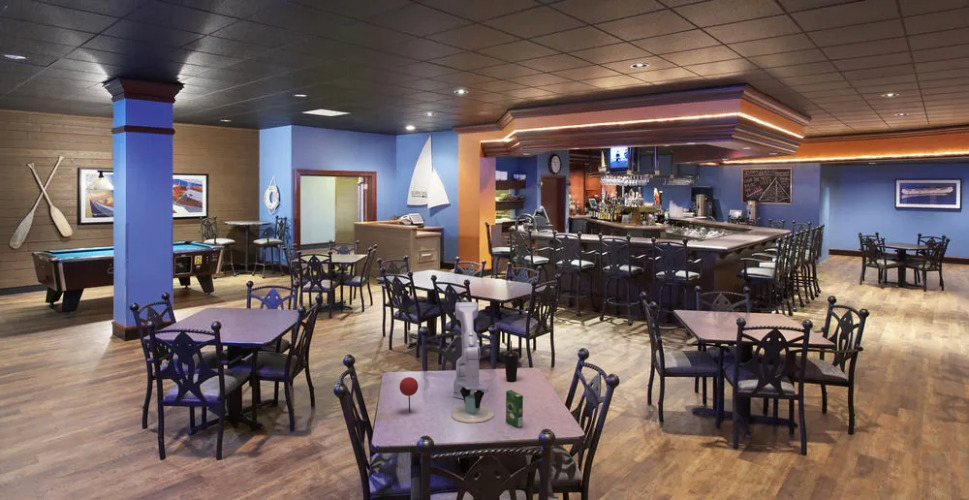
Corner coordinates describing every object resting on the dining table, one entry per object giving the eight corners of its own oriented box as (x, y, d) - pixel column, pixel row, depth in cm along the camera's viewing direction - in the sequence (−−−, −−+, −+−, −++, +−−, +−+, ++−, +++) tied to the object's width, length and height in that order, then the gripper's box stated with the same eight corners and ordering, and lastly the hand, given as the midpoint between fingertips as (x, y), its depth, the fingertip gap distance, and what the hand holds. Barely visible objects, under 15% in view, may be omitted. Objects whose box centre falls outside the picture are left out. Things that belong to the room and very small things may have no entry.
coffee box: (523, 426, 232) (523, 394, 231) (517, 428, 231) (517, 396, 229) (511, 420, 239) (511, 389, 238) (505, 422, 237) (505, 390, 236)
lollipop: (421, 409, 252) (420, 375, 250) (413, 416, 245) (412, 381, 243) (405, 407, 254) (404, 374, 253) (397, 414, 247) (396, 379, 246)
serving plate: (442, 417, 243) (442, 415, 243) (466, 404, 258) (466, 402, 258) (479, 426, 233) (479, 424, 233) (502, 411, 248) (502, 409, 248)
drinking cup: (502, 378, 293) (502, 339, 291) (517, 377, 293) (517, 338, 291) (504, 383, 285) (504, 343, 283) (520, 382, 286) (519, 342, 284)
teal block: (465, 411, 245) (465, 397, 244) (471, 407, 248) (471, 394, 248) (474, 413, 242) (474, 399, 242) (480, 409, 246) (480, 395, 245)
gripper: (452, 374, 244) (452, 406, 246) (481, 380, 237) (482, 412, 238) (461, 370, 250) (462, 401, 251) (490, 375, 242) (491, 407, 244)
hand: (472, 406), depth 245 cm, fingers closed on teal block, 4 cm apart
